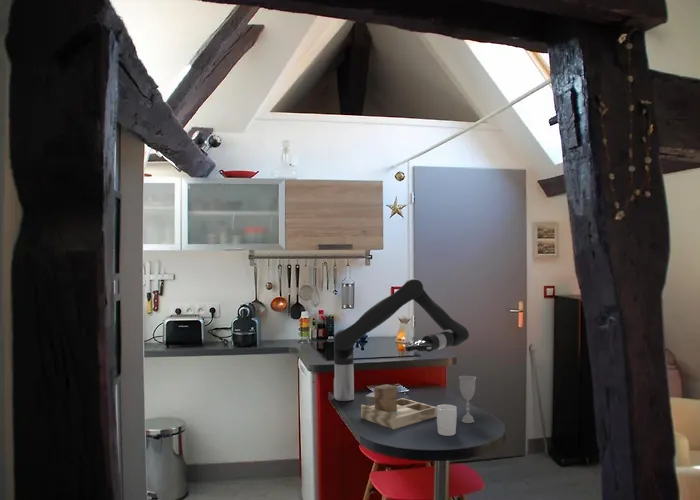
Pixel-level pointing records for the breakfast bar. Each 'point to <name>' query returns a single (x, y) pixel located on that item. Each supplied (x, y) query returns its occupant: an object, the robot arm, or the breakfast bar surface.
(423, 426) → the breakfast bar surface
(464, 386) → the chalice
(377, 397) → the walnut block
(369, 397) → the decorative stone
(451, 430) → the white cup
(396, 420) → the box
